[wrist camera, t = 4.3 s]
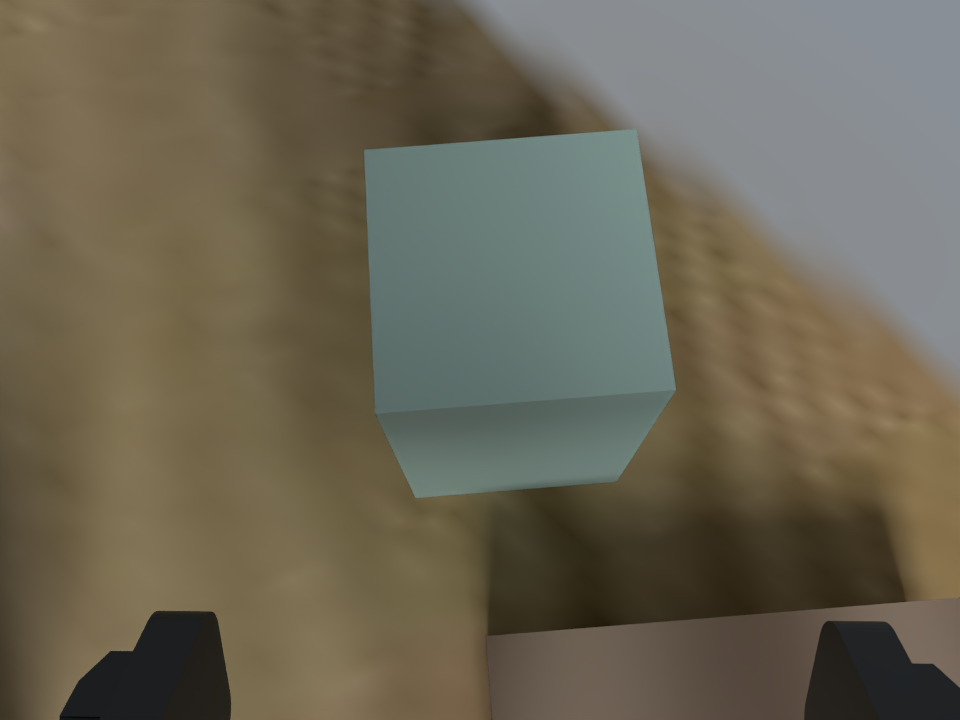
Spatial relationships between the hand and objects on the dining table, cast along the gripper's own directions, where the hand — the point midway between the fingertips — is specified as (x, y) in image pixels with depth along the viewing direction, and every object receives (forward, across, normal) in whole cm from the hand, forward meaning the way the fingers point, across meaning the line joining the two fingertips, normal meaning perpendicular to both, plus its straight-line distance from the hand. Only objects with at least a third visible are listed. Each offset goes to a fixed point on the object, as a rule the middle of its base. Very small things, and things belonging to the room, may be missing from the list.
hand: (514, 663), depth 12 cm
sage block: (+12, 0, +2) cm, 12 cm away
